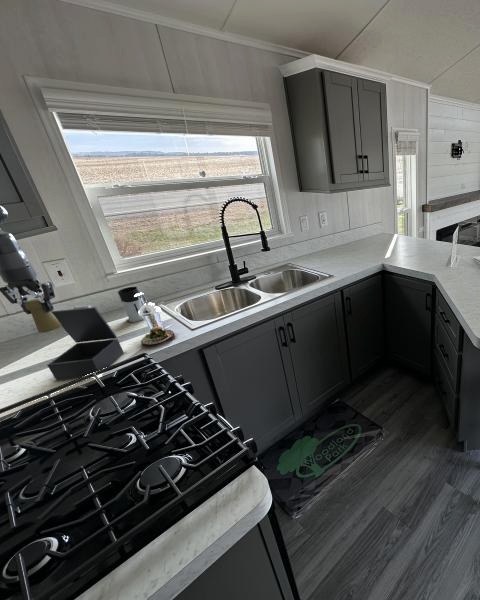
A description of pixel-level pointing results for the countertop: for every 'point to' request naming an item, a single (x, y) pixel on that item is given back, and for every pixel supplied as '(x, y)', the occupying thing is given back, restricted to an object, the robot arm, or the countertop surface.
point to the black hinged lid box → (85, 359)
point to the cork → (42, 316)
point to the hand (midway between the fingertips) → (40, 312)
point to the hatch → (84, 324)
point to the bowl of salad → (157, 336)
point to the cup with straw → (150, 313)
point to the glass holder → (131, 302)
